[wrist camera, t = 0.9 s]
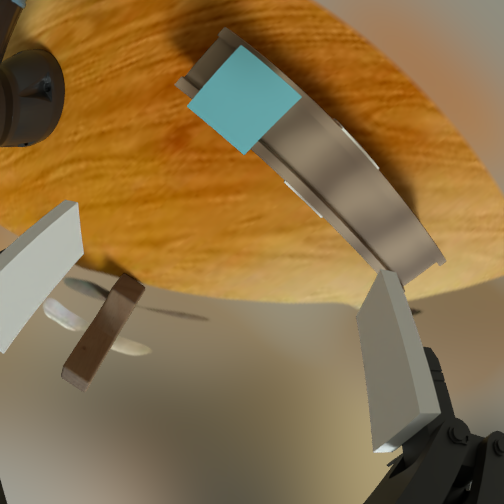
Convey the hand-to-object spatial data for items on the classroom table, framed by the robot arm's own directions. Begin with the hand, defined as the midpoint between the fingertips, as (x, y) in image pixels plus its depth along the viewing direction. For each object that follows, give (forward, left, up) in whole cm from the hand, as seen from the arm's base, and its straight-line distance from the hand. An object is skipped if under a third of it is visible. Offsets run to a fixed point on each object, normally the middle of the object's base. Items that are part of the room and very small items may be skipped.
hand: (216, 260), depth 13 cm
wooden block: (0, -35, -26) cm, 43 cm away
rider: (-4, +3, -18) cm, 19 cm away
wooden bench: (+6, +3, -25) cm, 26 cm away
